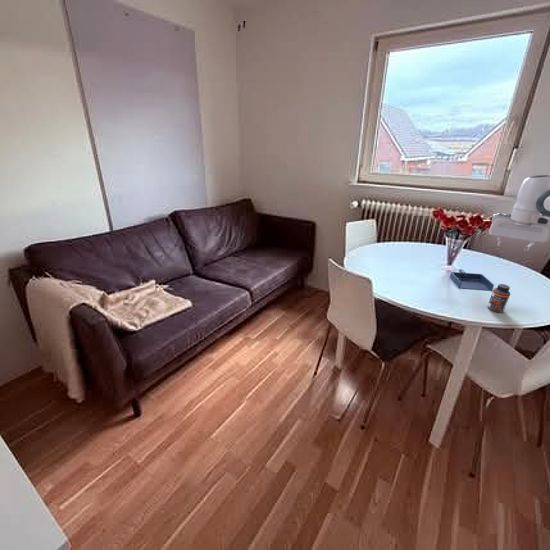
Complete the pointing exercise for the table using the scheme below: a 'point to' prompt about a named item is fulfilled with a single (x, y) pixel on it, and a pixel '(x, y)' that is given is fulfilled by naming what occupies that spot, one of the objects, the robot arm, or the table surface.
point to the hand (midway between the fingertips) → (512, 248)
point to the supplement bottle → (499, 298)
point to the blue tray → (471, 281)
